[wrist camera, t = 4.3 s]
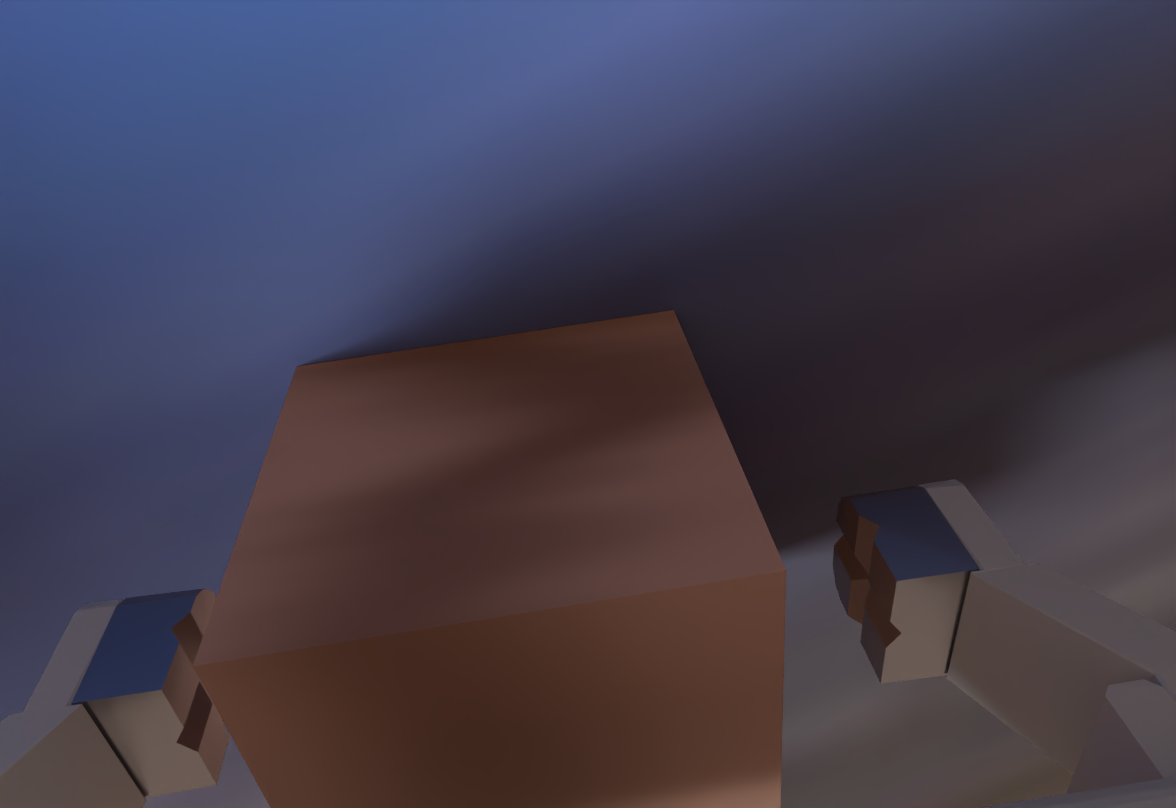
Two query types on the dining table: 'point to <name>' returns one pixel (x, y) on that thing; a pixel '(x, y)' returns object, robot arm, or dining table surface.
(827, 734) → the dining table surface
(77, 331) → the dining table surface
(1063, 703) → the robot arm
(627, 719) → the terracotta cube
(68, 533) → the dining table surface
